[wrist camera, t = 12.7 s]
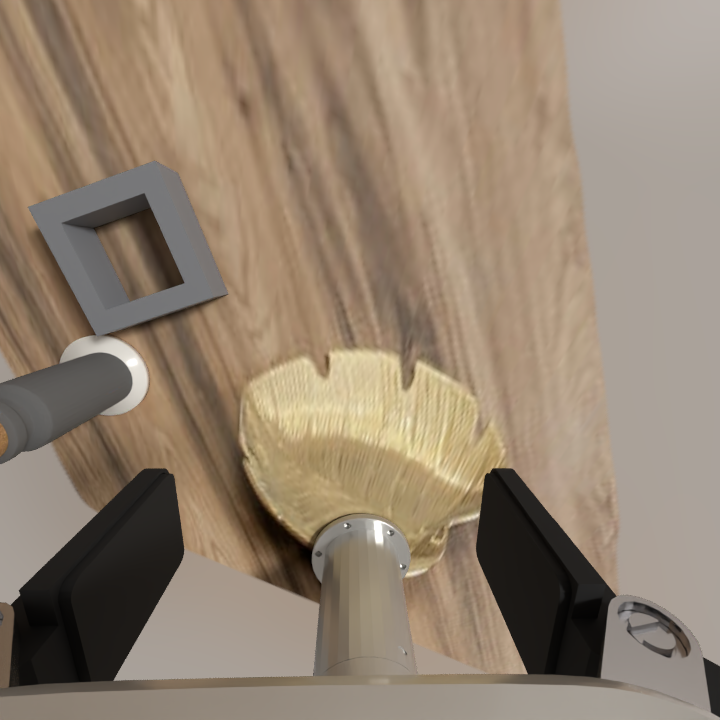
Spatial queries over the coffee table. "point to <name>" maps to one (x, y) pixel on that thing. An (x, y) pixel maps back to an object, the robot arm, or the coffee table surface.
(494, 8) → the coffee table surface
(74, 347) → the white round part
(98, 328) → the square frame
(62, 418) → the bottle
